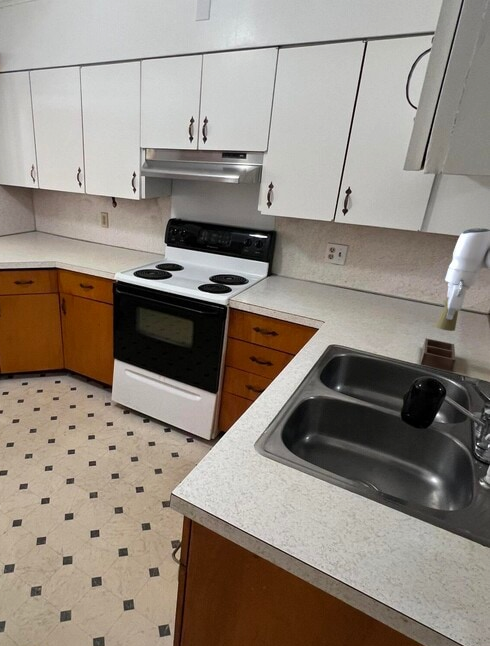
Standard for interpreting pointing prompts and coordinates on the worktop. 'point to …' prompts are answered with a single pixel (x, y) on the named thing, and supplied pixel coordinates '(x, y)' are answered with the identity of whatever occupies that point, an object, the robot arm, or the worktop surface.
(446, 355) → the rack
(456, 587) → the worktop surface
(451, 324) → the cork
